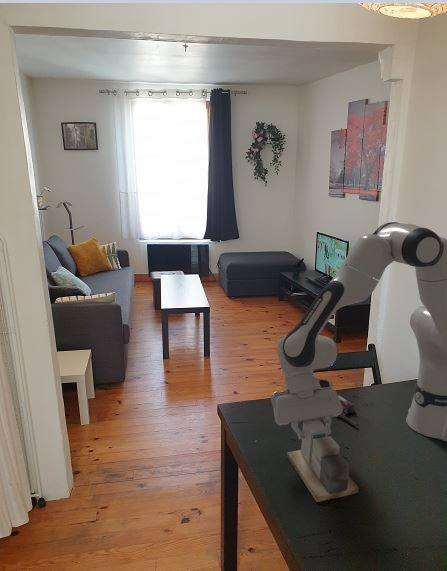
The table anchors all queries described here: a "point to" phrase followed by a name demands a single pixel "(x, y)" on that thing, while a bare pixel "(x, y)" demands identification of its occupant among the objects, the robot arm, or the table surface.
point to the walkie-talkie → (346, 410)
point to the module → (311, 437)
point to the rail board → (315, 481)
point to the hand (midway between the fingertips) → (315, 436)
